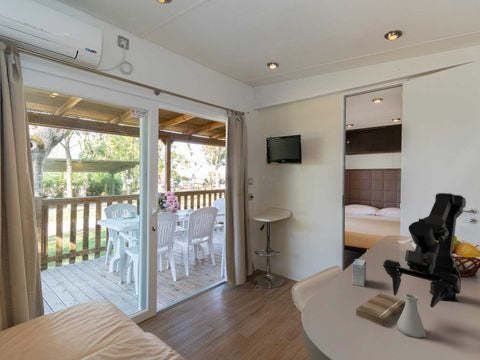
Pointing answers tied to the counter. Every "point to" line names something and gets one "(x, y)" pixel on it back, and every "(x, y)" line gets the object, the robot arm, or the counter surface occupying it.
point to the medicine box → (359, 272)
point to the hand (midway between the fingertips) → (412, 300)
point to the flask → (411, 318)
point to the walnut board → (380, 308)
